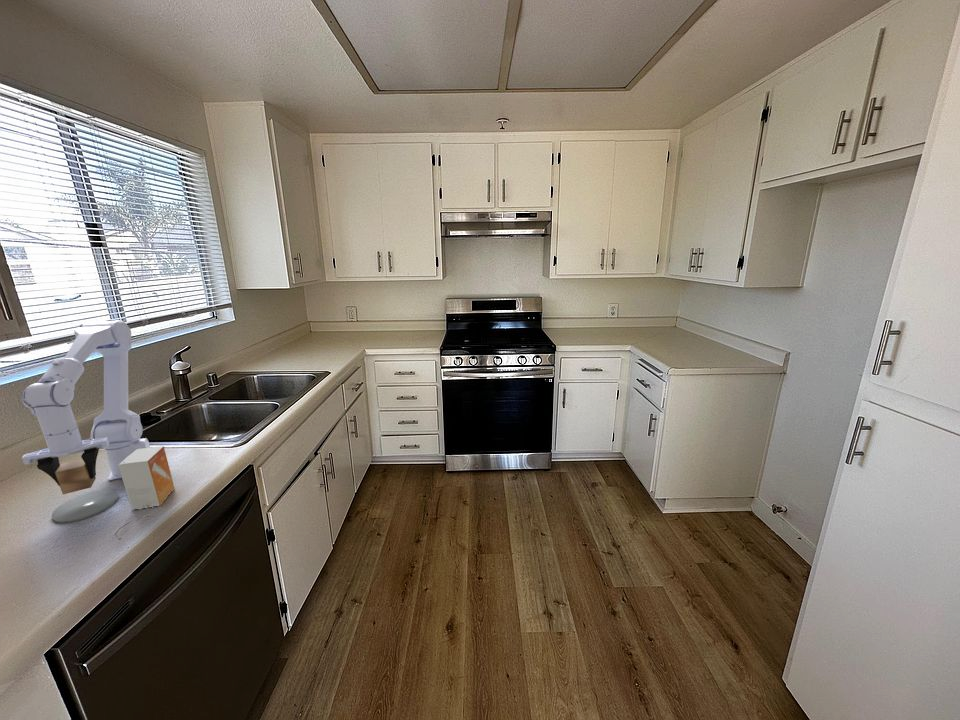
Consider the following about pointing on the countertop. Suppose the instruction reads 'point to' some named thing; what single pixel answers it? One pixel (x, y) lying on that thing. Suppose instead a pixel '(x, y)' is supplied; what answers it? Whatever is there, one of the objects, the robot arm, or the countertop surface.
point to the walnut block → (73, 476)
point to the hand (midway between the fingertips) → (78, 480)
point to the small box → (146, 477)
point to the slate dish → (85, 505)
